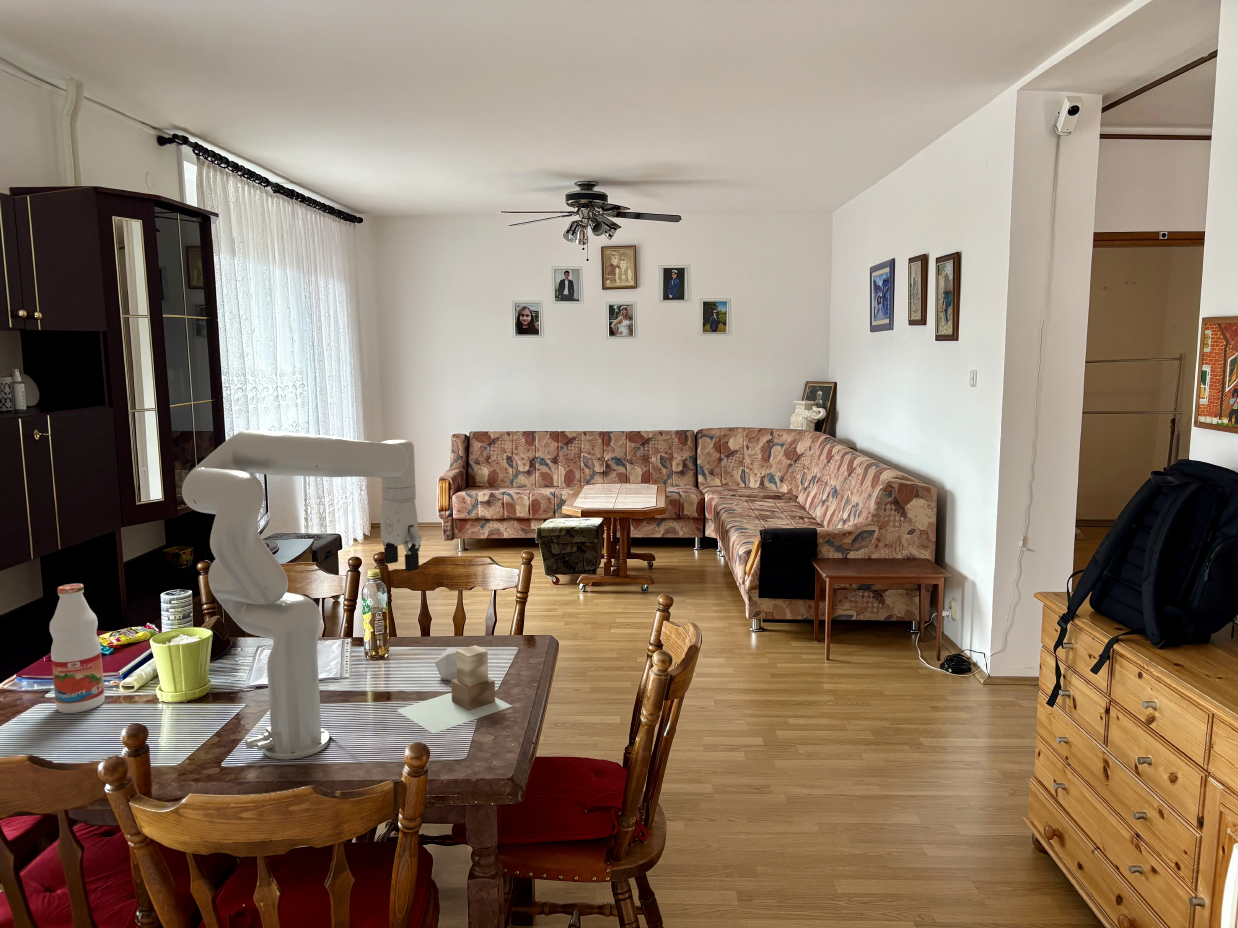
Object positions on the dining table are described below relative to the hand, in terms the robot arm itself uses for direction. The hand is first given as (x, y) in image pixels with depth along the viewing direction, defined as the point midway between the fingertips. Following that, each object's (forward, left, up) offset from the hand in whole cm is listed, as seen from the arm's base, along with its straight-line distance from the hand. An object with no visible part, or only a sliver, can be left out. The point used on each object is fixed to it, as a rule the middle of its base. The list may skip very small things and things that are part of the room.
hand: (401, 566), depth 192 cm
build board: (+2, -18, -30) cm, 35 cm away
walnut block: (+7, -18, -29) cm, 35 cm away
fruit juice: (-58, +44, -31) cm, 79 cm away
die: (+12, -2, -31) cm, 33 cm away
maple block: (+7, -18, -24) cm, 31 cm away
